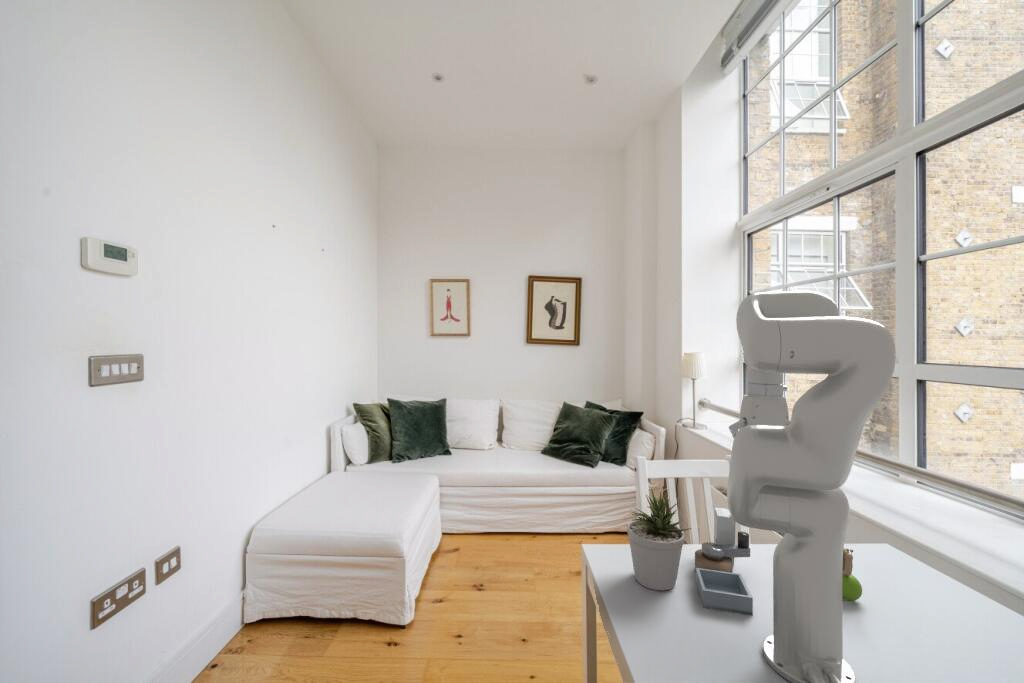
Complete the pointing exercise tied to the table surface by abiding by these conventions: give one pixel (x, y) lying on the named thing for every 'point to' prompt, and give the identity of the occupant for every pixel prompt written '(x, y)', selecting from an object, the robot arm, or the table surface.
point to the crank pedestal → (712, 563)
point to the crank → (727, 549)
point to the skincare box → (724, 528)
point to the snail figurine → (849, 579)
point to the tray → (724, 591)
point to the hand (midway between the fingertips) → (764, 460)
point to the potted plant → (656, 546)
